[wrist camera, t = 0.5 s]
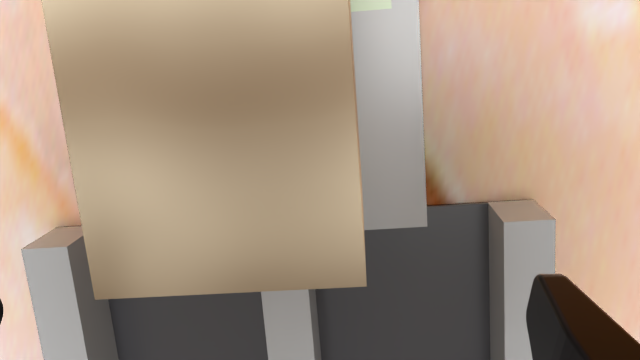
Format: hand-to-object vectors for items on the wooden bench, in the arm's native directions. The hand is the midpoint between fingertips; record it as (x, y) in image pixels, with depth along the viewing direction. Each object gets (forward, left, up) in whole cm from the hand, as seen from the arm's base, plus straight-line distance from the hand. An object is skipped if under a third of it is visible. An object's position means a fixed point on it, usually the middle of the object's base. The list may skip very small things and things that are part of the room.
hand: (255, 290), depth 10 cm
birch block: (0, +3, -14) cm, 14 cm away
